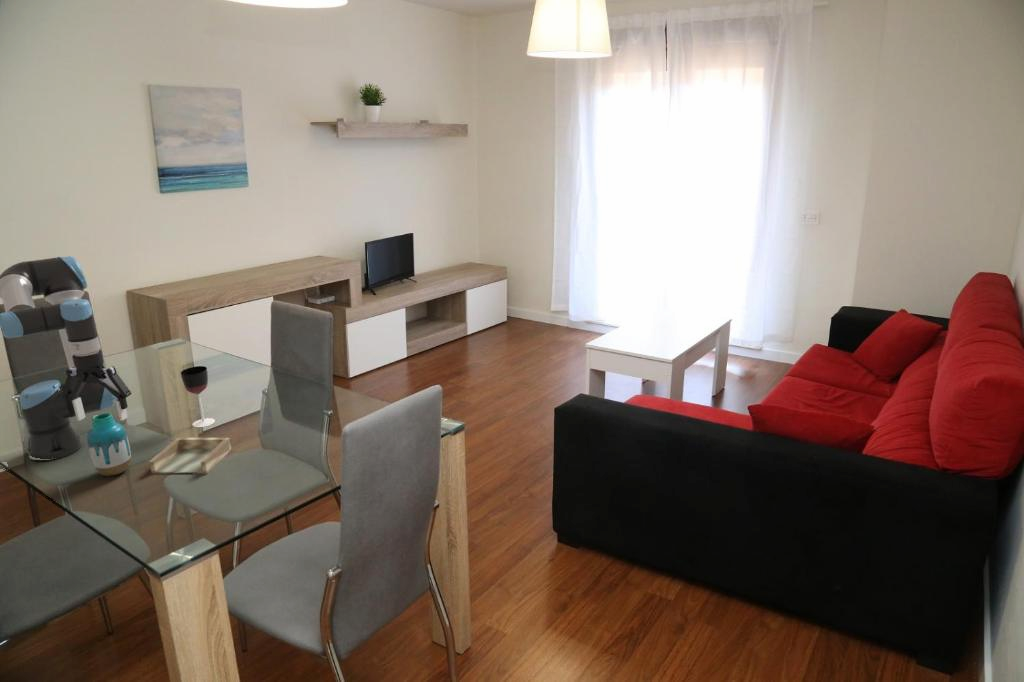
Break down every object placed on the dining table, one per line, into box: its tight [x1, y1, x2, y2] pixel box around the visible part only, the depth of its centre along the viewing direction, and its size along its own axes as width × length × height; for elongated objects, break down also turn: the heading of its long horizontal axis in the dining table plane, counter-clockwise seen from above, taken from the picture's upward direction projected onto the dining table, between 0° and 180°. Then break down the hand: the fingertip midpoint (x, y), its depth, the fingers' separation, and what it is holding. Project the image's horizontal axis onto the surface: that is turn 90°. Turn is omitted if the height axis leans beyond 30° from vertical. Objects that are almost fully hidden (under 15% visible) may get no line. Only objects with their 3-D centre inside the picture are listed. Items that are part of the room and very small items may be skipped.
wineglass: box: [180, 365, 216, 428], centre depth 246 cm, size 8×9×20 cm
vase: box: [87, 412, 132, 477], centre depth 213 cm, size 11×11×19 cm
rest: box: [148, 437, 232, 475], centre depth 221 cm, size 18×16×4 cm
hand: (102, 419), depth 210 cm, fingers open, 13 cm apart
